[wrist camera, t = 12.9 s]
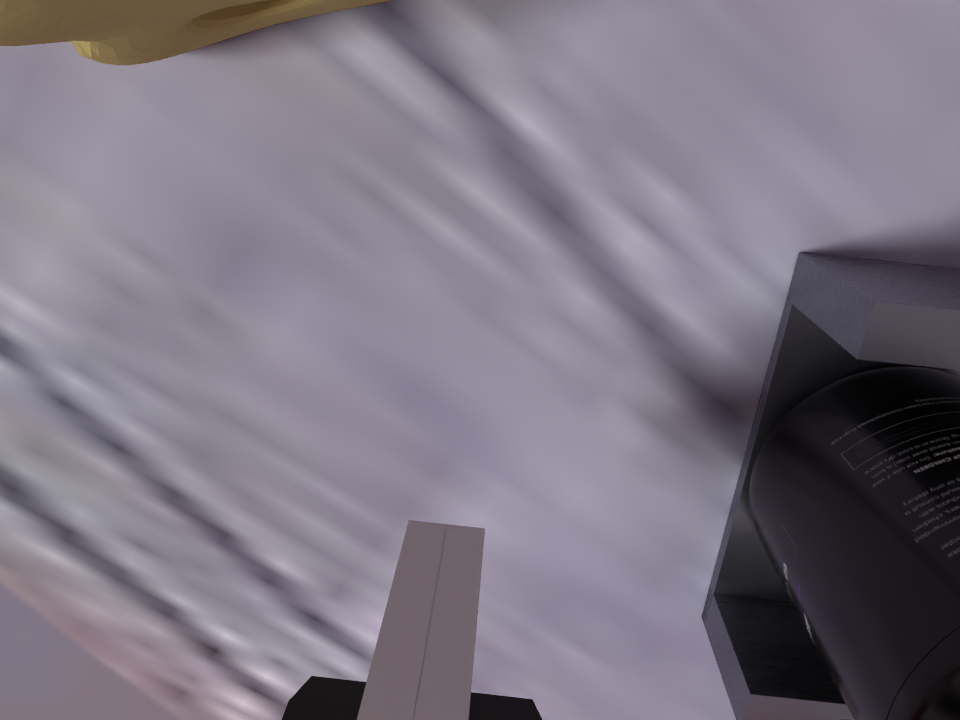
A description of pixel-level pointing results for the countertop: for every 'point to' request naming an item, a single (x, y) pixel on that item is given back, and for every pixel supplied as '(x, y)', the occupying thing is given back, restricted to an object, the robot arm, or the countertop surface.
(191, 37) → the cheese
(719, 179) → the countertop surface
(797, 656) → the guide channel
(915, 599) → the supplement bottle
